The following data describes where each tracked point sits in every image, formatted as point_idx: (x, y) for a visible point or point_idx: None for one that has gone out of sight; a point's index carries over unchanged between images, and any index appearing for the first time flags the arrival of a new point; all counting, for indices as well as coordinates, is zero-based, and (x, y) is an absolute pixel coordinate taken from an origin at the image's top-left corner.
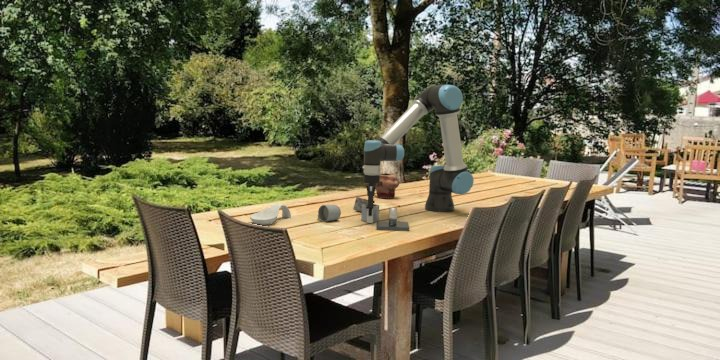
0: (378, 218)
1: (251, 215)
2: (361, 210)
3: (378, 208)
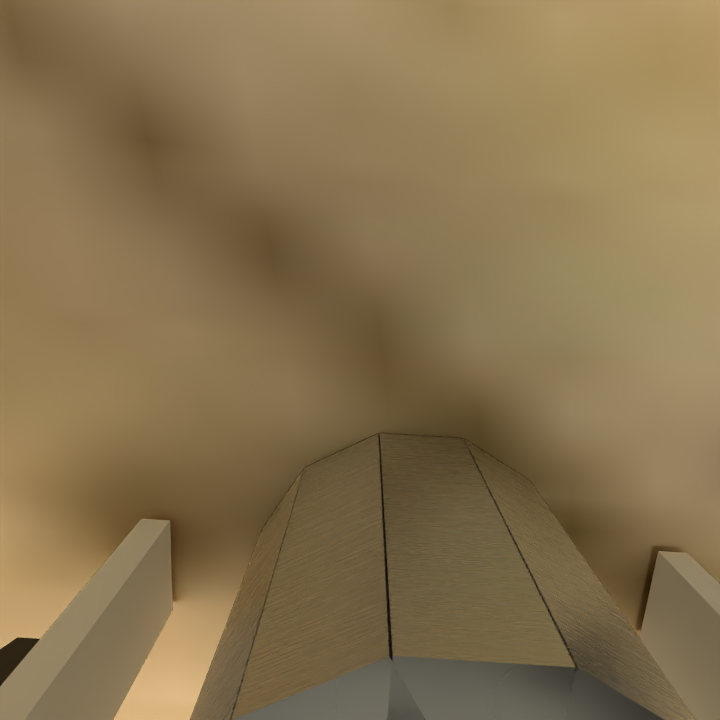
0: (483, 464)
1: None
2: None
3: (582, 625)
